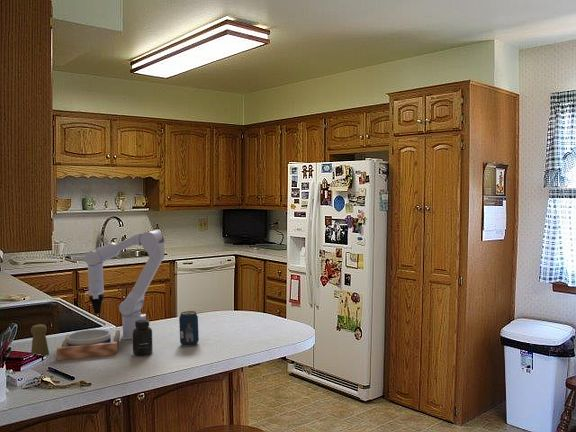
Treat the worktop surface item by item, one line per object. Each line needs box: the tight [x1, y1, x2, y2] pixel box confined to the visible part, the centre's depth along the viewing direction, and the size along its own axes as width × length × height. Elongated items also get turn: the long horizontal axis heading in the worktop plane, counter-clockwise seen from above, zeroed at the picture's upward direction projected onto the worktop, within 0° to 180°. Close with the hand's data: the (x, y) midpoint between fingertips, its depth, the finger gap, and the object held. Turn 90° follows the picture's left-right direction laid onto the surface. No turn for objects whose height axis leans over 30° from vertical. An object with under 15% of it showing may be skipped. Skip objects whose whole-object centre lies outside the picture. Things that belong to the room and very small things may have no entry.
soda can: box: [178, 310, 200, 347], centre depth 208 cm, size 7×7×12 cm
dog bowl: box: [66, 328, 112, 346], centre depth 204 cm, size 15×15×6 cm
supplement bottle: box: [132, 319, 154, 357], centre depth 196 cm, size 7×7×12 cm
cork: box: [30, 323, 50, 356], centre depth 199 cm, size 6×6×11 cm
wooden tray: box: [56, 329, 121, 361], centre depth 208 cm, size 20×28×4 cm
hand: (97, 313), depth 222 cm, fingers closed
